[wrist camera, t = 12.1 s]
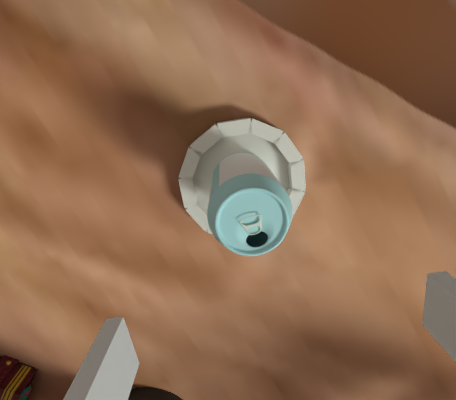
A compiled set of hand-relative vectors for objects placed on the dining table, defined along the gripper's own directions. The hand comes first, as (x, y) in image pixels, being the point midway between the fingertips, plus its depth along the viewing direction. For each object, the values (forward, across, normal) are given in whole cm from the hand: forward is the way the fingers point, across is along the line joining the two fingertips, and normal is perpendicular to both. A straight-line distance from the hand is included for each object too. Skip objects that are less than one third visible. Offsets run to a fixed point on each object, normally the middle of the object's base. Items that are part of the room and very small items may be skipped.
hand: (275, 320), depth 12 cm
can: (+22, 0, 0) cm, 22 cm away
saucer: (+23, 0, 0) cm, 23 cm away
